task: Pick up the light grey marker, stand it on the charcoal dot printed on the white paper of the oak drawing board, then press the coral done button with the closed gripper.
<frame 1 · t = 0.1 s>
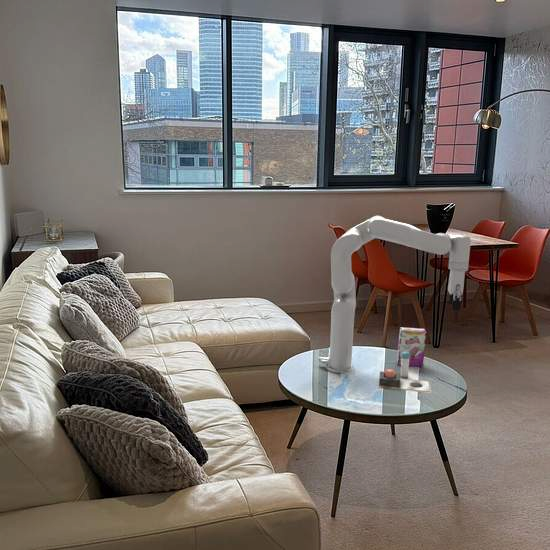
hand: (454, 307, 236), 31 cm above the table, tool pointing down, fingers open, 9 cm apart
marker: (403, 377, 242), on the table
done button: (389, 374, 233), point 4 cm above the table, slide at 0.0 cm
drawing board: (404, 386, 233), on the table
candy bar box: (409, 365, 259), on the table
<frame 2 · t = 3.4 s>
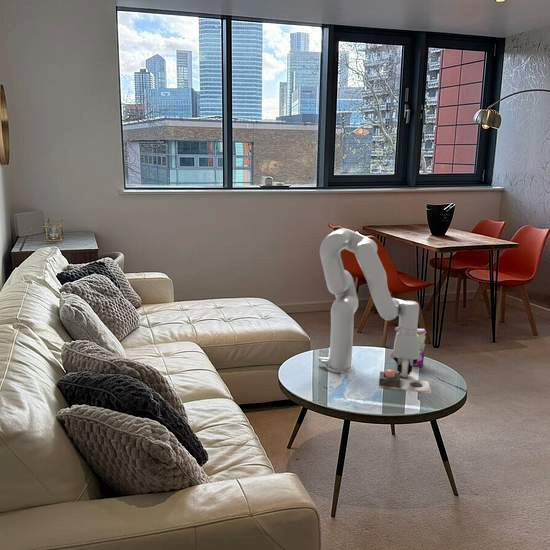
hand: (404, 372, 242), 2 cm above the table, tool pointing down, fingers closed on marker, 3 cm apart
marker: (403, 377, 242), on the table, touching gripper
everything else where it was.
when the fingers open (5 cm above the table, at t = 8.4 s): marker drops 1 cm, resting on drawing board.
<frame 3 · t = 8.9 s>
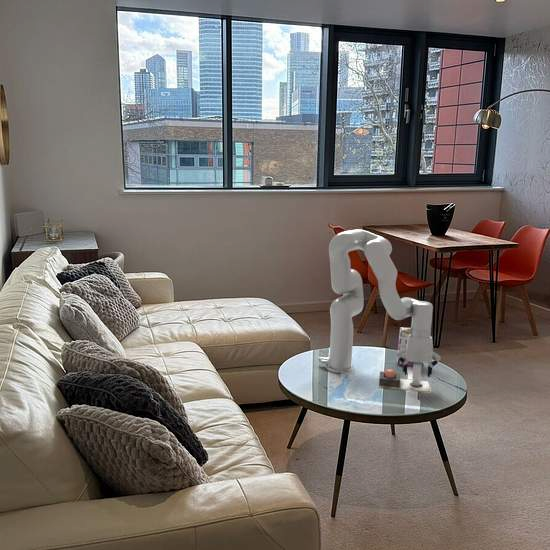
hand: (417, 374, 231), 6 cm above the table, tool pointing down, fingers open, 8 cm apart
marker: (415, 384, 232), point 1 cm above the table, touching drawing board
everything else where it was.
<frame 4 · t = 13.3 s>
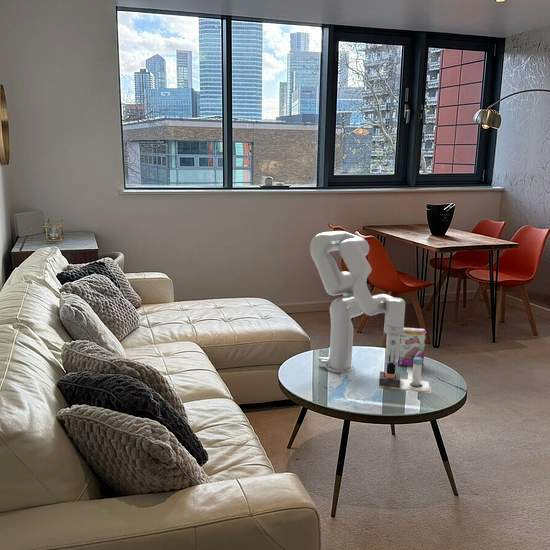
hand: (390, 373, 233), 5 cm above the table, tool pointing down, fingers closed
done button: (389, 377, 233), point 3 cm above the table, slide at 0.9 cm
everything else where it was.
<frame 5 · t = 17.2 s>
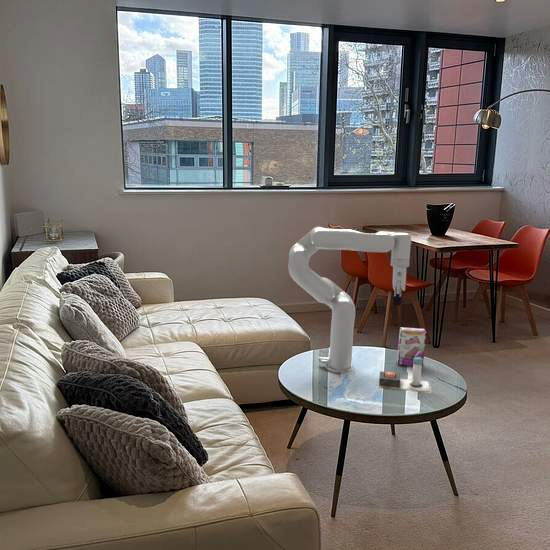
hand: (396, 305, 245), 29 cm above the table, tool pointing down, fingers closed
nothing on the table moved.
at the end: marker 0.1 cm from the target spot on the drawing board, point 1.3 cm above the drawing board's base; marker tilted 0°; done button slide at 1.1 cm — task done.
